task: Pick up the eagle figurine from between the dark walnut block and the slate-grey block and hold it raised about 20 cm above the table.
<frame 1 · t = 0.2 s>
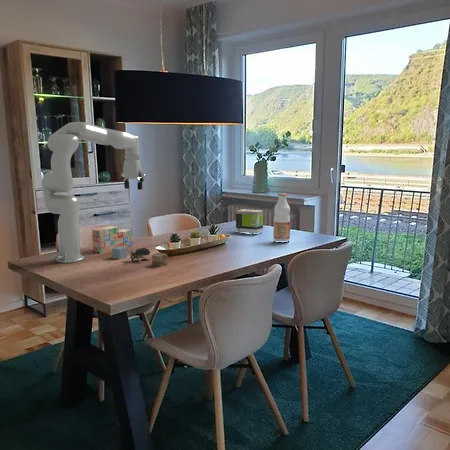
hand: (133, 189, 247), 31 cm above the table, tool pointing down, fingers open, 9 cm apart
fruit juice: (281, 242, 257), on the table
walnut block: (159, 265, 206), on the table
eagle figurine: (139, 261, 213), on the table
tea box: (249, 233, 283), on the table
stack of blocks: (113, 249, 239), on the table
slate grey block: (119, 257, 220), on the table
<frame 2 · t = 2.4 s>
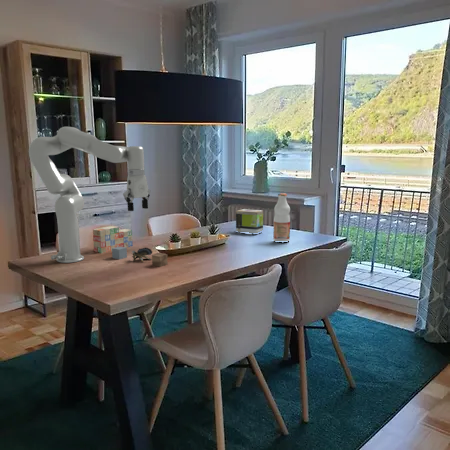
hand: (138, 209, 209), 25 cm above the table, tool pointing down, fingers open, 9 cm apart
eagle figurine: (142, 261, 214), on the table
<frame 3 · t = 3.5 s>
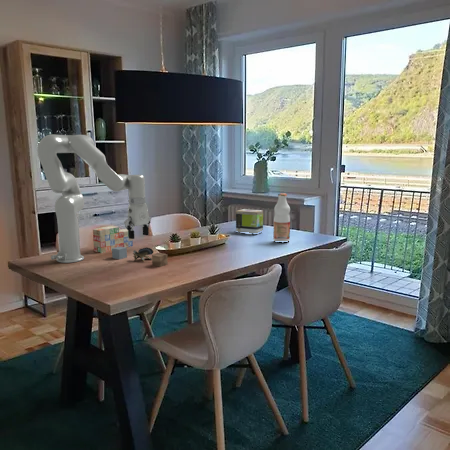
hand: (138, 236, 211), 12 cm above the table, tool pointing down, fingers open, 9 cm apart
nothing on the table moved.
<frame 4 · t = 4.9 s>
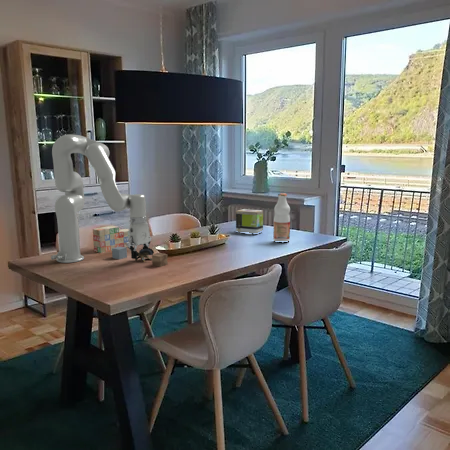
hand: (140, 256, 212), 2 cm above the table, tool pointing down, fingers closed on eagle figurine, 7 cm apart
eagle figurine: (143, 261, 214), on the table, touching gripper
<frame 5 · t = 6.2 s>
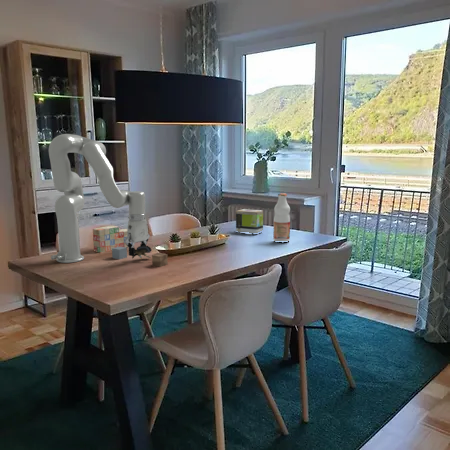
hand: (137, 253, 212), 4 cm above the table, tool pointing down, fingers closed on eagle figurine, 7 cm apart
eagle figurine: (140, 258, 214), point 1 cm above the table, touching gripper
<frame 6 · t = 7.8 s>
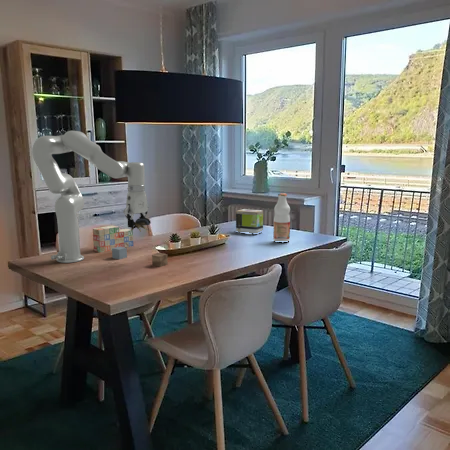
hand: (136, 226, 210), 17 cm above the table, tool pointing down, fingers closed on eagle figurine, 7 cm apart
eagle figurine: (139, 231, 212), point 14 cm above the table, touching gripper
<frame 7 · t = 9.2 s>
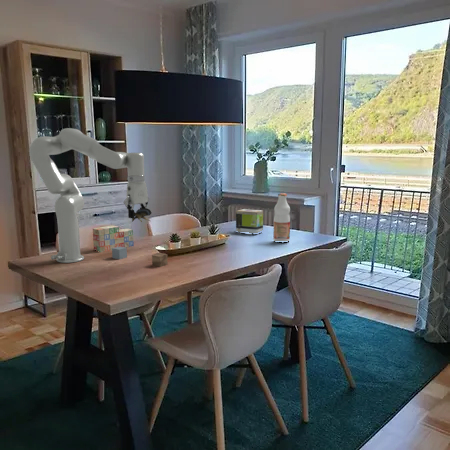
hand: (137, 216, 209), 22 cm above the table, tool pointing down, fingers closed on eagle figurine, 7 cm apart
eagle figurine: (140, 221, 211), point 19 cm above the table, touching gripper
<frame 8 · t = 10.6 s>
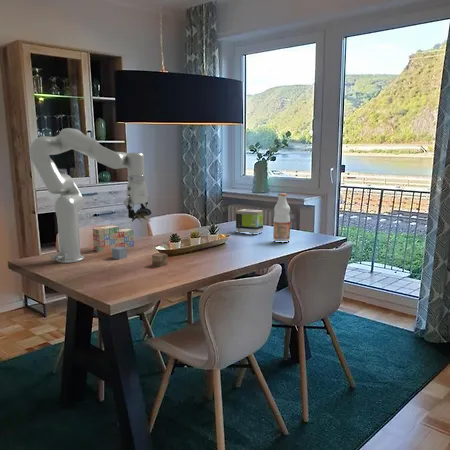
hand: (137, 216, 209), 22 cm above the table, tool pointing down, fingers closed on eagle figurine, 7 cm apart
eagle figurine: (140, 221, 211), point 19 cm above the table, touching gripper
at the end: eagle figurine point 18.9 cm above the table; walnut block moved 0.1 cm from its start; slate grey block moved 0.1 cm from its start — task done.
